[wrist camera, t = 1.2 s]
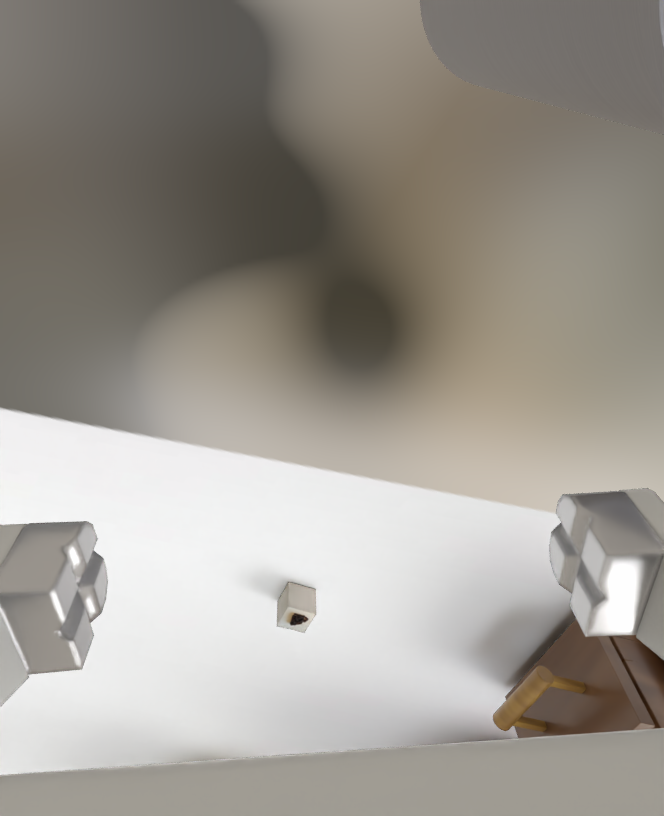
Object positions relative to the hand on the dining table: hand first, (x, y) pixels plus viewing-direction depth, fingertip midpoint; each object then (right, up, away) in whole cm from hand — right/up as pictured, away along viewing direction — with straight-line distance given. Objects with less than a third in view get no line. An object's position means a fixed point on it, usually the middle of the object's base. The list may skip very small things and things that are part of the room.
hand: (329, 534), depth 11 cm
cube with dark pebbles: (-3, -11, +34) cm, 36 cm away
